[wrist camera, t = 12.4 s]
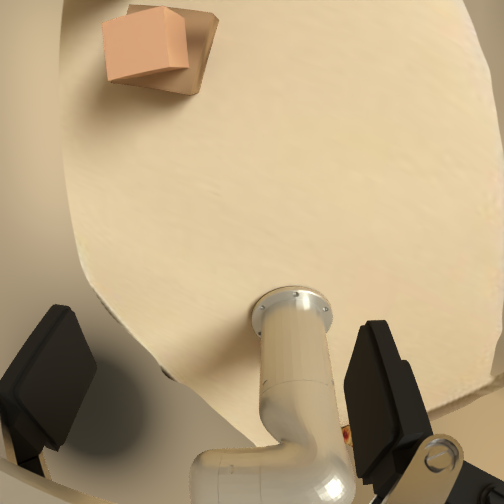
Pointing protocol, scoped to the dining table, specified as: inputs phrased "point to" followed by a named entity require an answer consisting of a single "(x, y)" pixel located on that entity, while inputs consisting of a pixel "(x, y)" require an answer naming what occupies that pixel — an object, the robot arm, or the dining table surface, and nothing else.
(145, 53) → the peach matte cube
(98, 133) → the dining table surface
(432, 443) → the robot arm
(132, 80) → the walnut block
